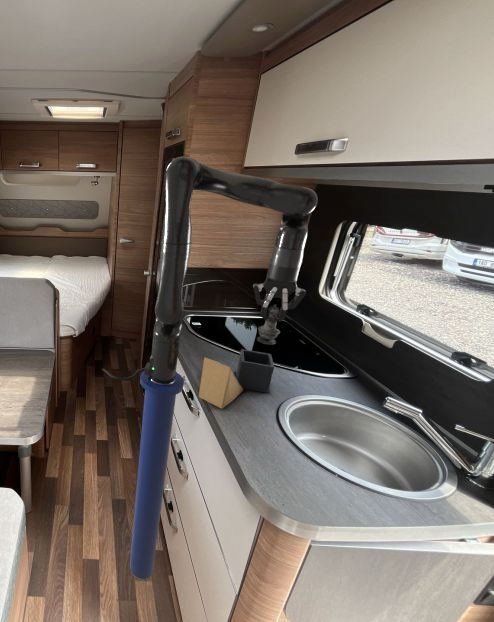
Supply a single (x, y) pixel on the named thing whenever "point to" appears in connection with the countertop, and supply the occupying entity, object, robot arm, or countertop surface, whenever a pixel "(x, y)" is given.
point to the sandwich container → (218, 384)
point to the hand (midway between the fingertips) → (271, 319)
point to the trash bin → (254, 370)
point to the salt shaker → (269, 327)
